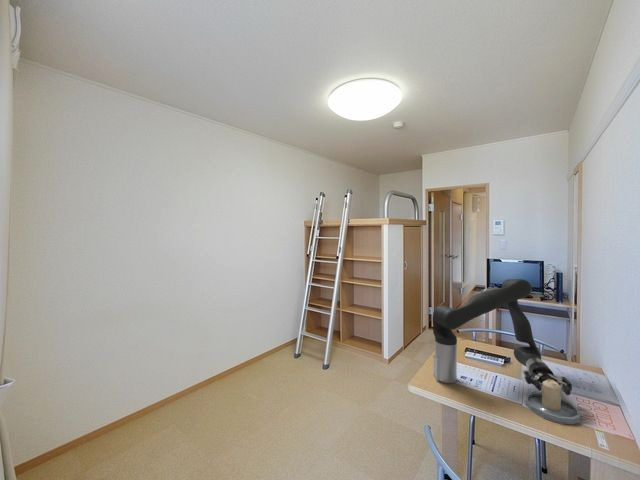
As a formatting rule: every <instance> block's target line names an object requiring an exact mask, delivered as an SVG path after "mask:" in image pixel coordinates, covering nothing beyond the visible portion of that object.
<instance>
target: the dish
mask: <svg viewBox="0 0 640 480" xmlns="http://www.w3.org/2000/svg"><path fill="white" fill-rule="evenodd" d="M524 404H525V406H526V407H527V408H528V409H529V410H530V411H531V413H534V414H536V415H537V416H539V417H541V418H543V419H545V420H548V421H551V422H554V423H558V424H562V425H563V424H565V425H576V424H578V423H580V422H581V421H582V419H581V418H582V417H581V411H580V409H579V407H577V406H576V405H574V404H573V403H572V402H570V401H568V400H566V399H564V398H562V397H561V409H560V411H552V410H549V409H547V408H545V407H544V406H543V405H542V392H536V391H535V392H534V391H533V392H529V393H526V394H525V403H524Z"/></svg>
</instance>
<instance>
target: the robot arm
mask: <svg viewBox="0 0 640 480" xmlns="http://www.w3.org/2000/svg"><path fill="white" fill-rule="evenodd" d="M532 287H533V286H532V284H531V283H530V282H529V281H528V280H526V279H523V278H508V279H505V280H504V281H502V283H501V287H500V288H494V289H489V290H483V291H482V292H479V293H476V294H474V295H472V296H471V297H470V299H468V300H467V303H466V304H465V305H463V306H461V307H458V308H457V307H456V308H452V307H449V306H446V305H442V304H441V305H438V306H436V307H435V308H434V310H433V312H432V332H433V336H434V354H433V376H434V378H435V379H436V381H437V382H441V383H445V384H454V383H456V382H457V380H458V379H457V377H458V376H457V373H458V372H457V369H458V368H457V366H458V365H457V364H458V363H457V362H458V361H457V360H458V357H457V356H458V355H457V354H458V337H457V336H456V334H454V332H453V331H452V330H455V329H457V328H460V327H461V326H464V324H466V323H469V322H470V321H472V320H474V319H476V318H478V317H480V316H483V315H485V314H488V313H490V312H492V311H494V310H496V309H498V308H500V307H503V306H505V305H506V307H507V310H508V312H509V315H510V316H511V317H510V318H511V321H512V325H513V332H514V337H515V340H516V341H517V342H520V343H523V344H524V343H525V344H527V345H528V346H516V347H515V348H514V349H513V356H514V358H515V359H516V361H517V362H518V363H520V364H521V365H523V366H525V367H526V369H527V370H526V371H525V370H524V372H523V373H524V376H523V377H524V380H525V382H526V384H528V385H531V384H532V385H533V386H534V388H536V389H537V390H538V391H541V392H542V383H543V381H546V380H548V379H550V380H554V381H555V382H557V383H558V384H559V385H560V386H561V391H563V392H564V394H565V395H567V396H570V395H571V392H572V391H573V383H571V382H570V381H569V380H568V378H566V377H565V376H561V378H558V377H557V376H556V375H554V372H553V371H552V369H551V368H550V367H549V366H548V364H546V363H545V361H543V359H542V353H541V352H540V350H539V348H538V346H537V344H536V342H535V340H534V337H533V336H534V335H533V332H532V326H531V323H530V321H529V319H528V317H527V315H525V313H524V312H523V310H522V309H521V306H520V305H519V304H520V303H519V302H518V300H522V299H525V298H527V297H529V296H530V294H531V293H532V290H533V288H532Z"/></svg>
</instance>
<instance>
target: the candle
mask: <svg viewBox="0 0 640 480" xmlns="http://www.w3.org/2000/svg"><path fill="white" fill-rule="evenodd" d="M561 386H562V385H561ZM561 386H560V385H559V384H558V383H557V382H555V381H554V380H550V379H548V380H546V381H543V383H542V384H541V393H542V405H543V406H544V407H545V408H547V409H549V410H552V411H560V409H561V398H562V389H561Z"/></svg>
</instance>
